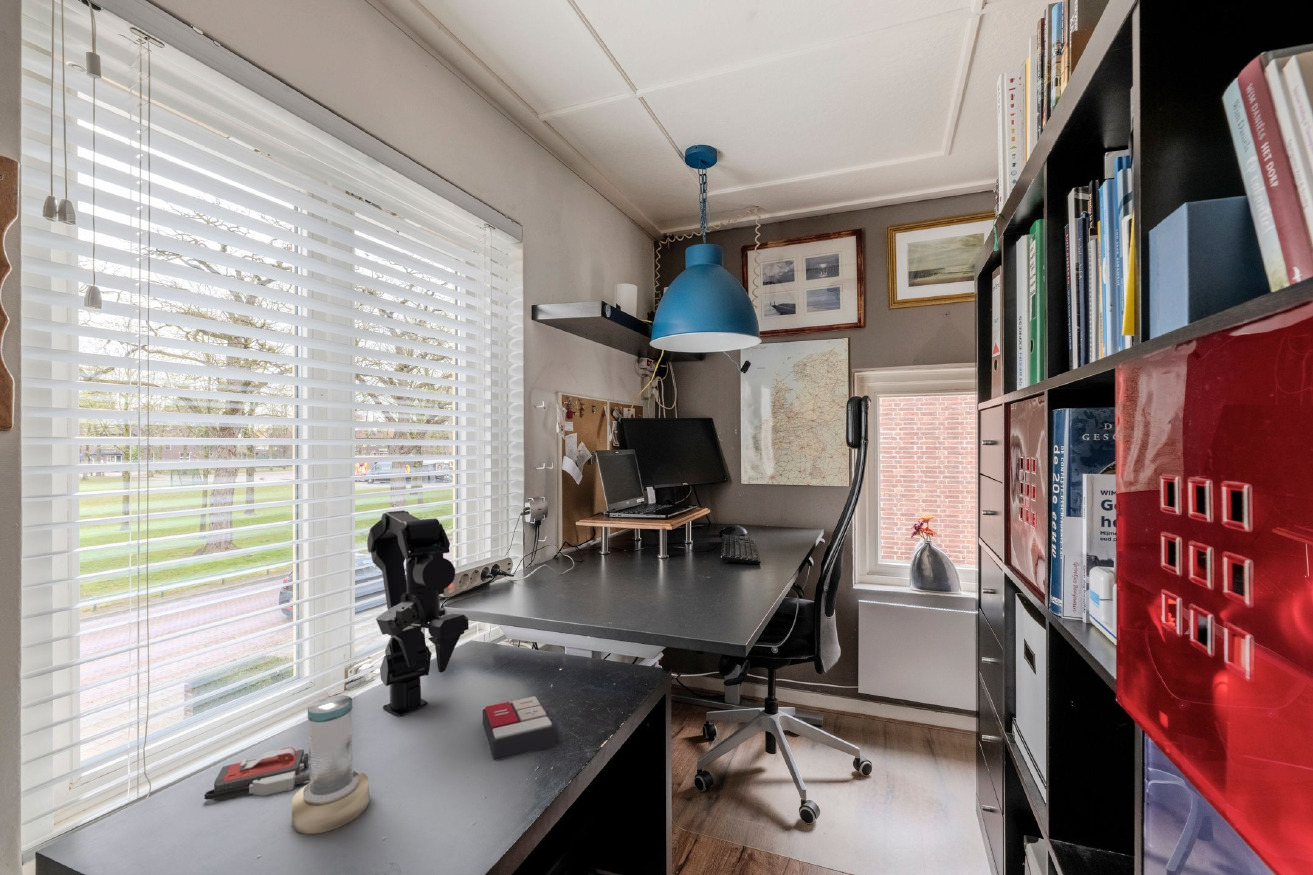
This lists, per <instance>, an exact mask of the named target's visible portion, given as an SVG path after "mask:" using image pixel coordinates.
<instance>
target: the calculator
mask: <svg viewBox="0 0 1313 875" xmlns="http://www.w3.org/2000/svg"><path fill="white" fill-rule="evenodd" d="M540 701H541V700H540V699H539V698H537V697H536V696H529V697H523V698H521V699H515V700H512V702H509V701H505V702H501V703H496V704H491V705H487V706H485V708H482V714H481V715H482V726H483V731H484V732H485V735H486V739H487V742H488V745H489V748H490V754H491V756H492V760H493V761H500V760H503V759H507V758H511V757H514V756H520V755H522V754H527V753H530V752H534V751H535V752H536V751H538V750H543V749H546V748H550V747H555V746H556V726H555V724H554V722H553V720H552V719H551V717H550V716H549V714H548V713H547V711H546V710H545V707H544V706H543V704H542V703H541V702H540Z"/></svg>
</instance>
